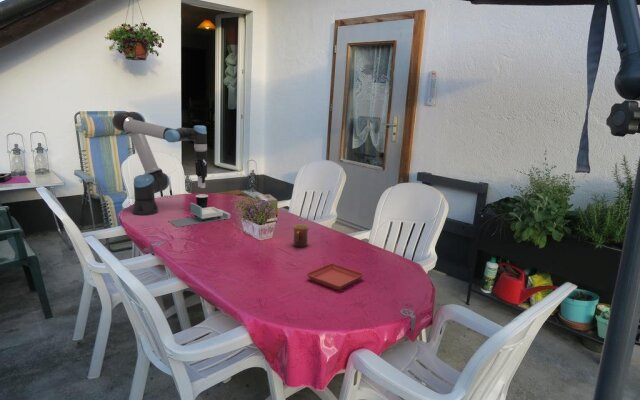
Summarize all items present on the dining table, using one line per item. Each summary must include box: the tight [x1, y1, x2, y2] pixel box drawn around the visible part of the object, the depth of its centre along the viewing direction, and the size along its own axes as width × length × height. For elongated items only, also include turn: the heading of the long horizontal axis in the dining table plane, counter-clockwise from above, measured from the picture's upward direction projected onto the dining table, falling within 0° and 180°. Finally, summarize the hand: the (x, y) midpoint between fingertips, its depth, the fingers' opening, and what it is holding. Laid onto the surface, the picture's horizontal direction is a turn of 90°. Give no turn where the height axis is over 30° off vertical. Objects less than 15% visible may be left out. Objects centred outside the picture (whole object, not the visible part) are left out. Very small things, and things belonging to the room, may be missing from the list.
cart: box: [189, 202, 224, 221], centre depth 264 cm, size 14×15×9 cm
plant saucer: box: [306, 263, 364, 291], centre depth 185 cm, size 18×18×3 cm
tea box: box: [254, 194, 279, 219], centre depth 267 cm, size 15×10×15 cm
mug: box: [292, 223, 310, 248], centre depth 223 cm, size 12×9×10 cm
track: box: [167, 208, 232, 228], centre depth 262 cm, size 14×34×3 cm, turn 130°
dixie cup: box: [195, 193, 209, 208], centre depth 279 cm, size 8×8×11 cm
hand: (201, 187), depth 276 cm, fingers open, 3 cm apart
